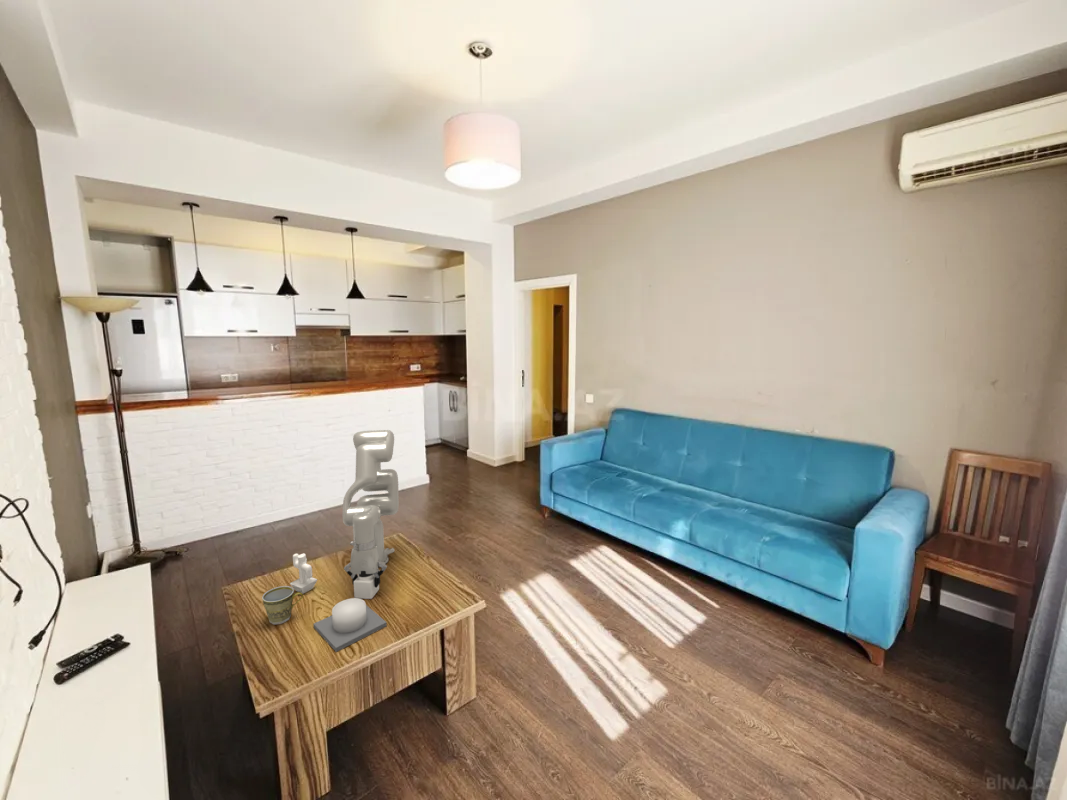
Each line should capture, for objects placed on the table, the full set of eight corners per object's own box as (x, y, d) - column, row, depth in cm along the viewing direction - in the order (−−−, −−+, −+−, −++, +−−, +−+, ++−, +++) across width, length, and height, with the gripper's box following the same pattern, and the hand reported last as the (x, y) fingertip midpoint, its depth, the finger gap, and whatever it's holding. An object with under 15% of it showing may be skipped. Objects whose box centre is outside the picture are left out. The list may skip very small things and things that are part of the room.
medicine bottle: (379, 589, 183) (378, 561, 181) (371, 599, 176) (370, 570, 174) (362, 588, 184) (361, 560, 182) (354, 598, 177) (352, 569, 175)
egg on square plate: (362, 605, 173) (361, 587, 171) (386, 626, 160) (385, 606, 159) (313, 627, 159) (312, 608, 158) (336, 652, 147) (334, 631, 146)
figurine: (303, 597, 177) (300, 561, 175) (288, 591, 182) (285, 556, 179) (320, 588, 184) (317, 553, 181) (305, 582, 188) (302, 548, 186)
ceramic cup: (260, 630, 158) (258, 603, 157) (269, 612, 168) (266, 588, 166) (301, 623, 162) (299, 598, 160) (307, 607, 171) (305, 583, 170)
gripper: (338, 549, 173) (340, 591, 176) (384, 548, 174) (386, 590, 176) (345, 540, 180) (347, 581, 183) (389, 539, 181) (391, 580, 184)
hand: (366, 585), depth 180 cm, fingers closed on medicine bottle, 7 cm apart
